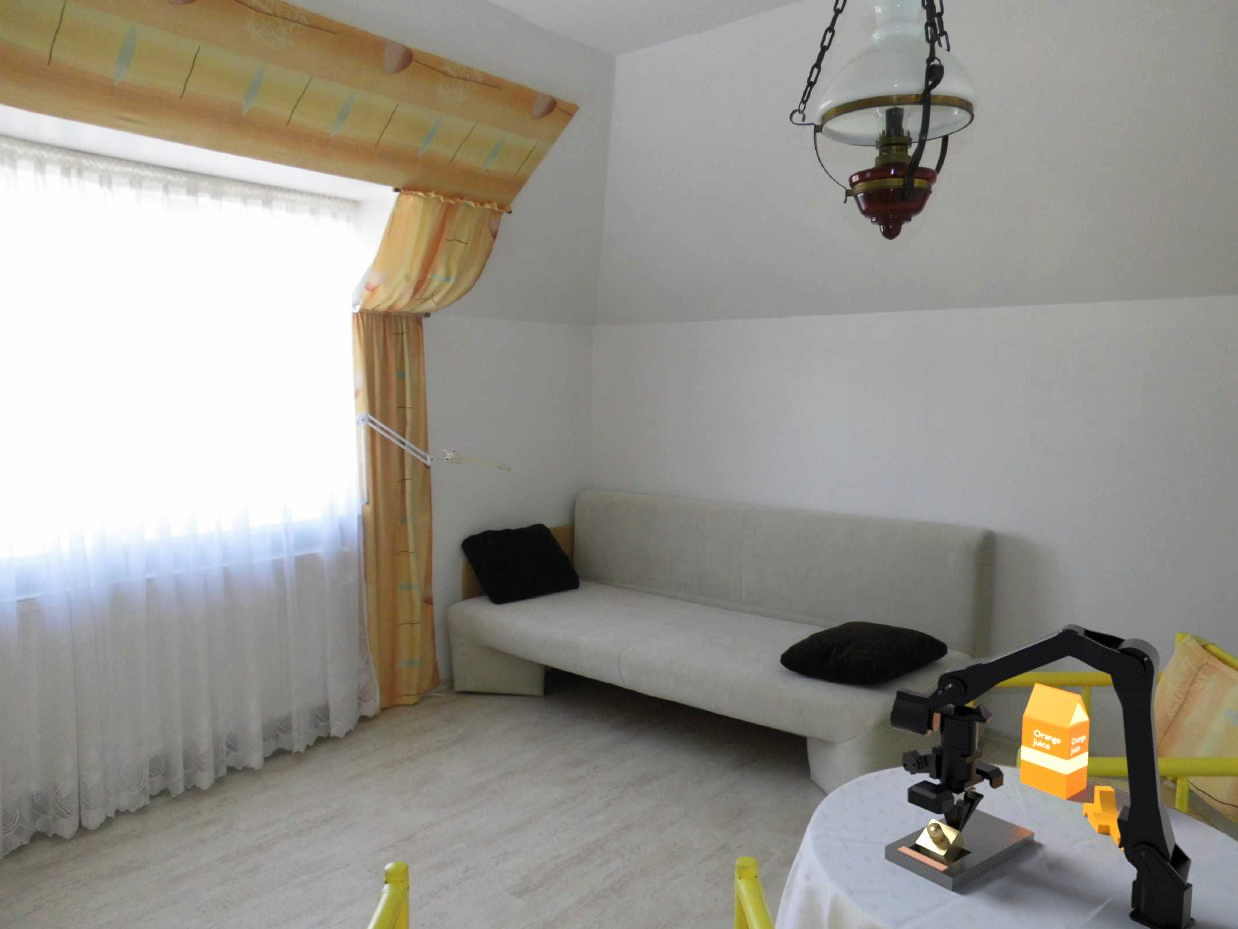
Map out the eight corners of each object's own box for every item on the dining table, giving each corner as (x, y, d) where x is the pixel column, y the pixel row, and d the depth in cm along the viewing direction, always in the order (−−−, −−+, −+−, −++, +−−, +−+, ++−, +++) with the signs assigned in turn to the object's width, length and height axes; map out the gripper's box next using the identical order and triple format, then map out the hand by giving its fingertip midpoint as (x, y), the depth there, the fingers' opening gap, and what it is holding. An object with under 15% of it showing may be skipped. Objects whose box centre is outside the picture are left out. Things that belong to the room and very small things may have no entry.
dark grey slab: (1033, 844, 150) (1034, 831, 150) (951, 891, 136) (952, 877, 135) (967, 817, 160) (968, 804, 160) (884, 858, 145) (885, 845, 145)
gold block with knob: (965, 843, 145) (955, 823, 143) (948, 867, 142) (939, 847, 140) (937, 831, 149) (928, 811, 147) (921, 854, 146) (911, 834, 144)
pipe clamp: (1082, 820, 159) (1084, 785, 159) (1108, 822, 159) (1110, 786, 158) (1111, 854, 147) (1113, 816, 147) (1139, 856, 147) (1141, 818, 146)
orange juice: (1064, 806, 164) (1070, 699, 163) (1018, 789, 171) (1023, 686, 170) (1086, 795, 169) (1091, 691, 167) (1040, 779, 176) (1045, 678, 174)
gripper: (946, 716, 157) (943, 802, 158) (880, 740, 146) (877, 833, 147) (1007, 735, 148) (1003, 827, 150) (941, 763, 137) (938, 862, 138)
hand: (954, 836), depth 146 cm, fingers closed
